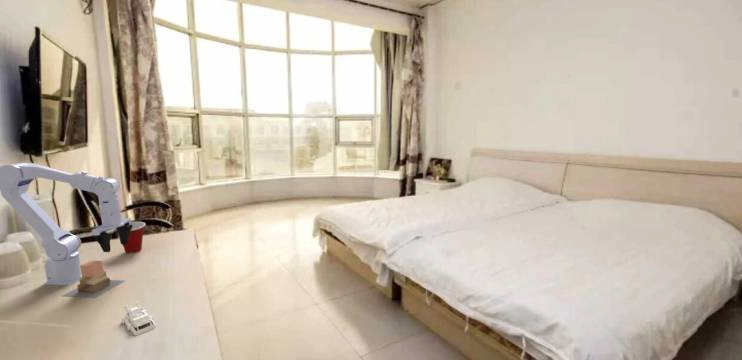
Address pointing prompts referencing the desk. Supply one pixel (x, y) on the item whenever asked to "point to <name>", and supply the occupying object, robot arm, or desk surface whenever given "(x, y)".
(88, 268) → the cube
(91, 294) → the mat
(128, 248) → the plastic cup
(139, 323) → the toy car
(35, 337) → the desk surface
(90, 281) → the tower middle
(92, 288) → the tower base
